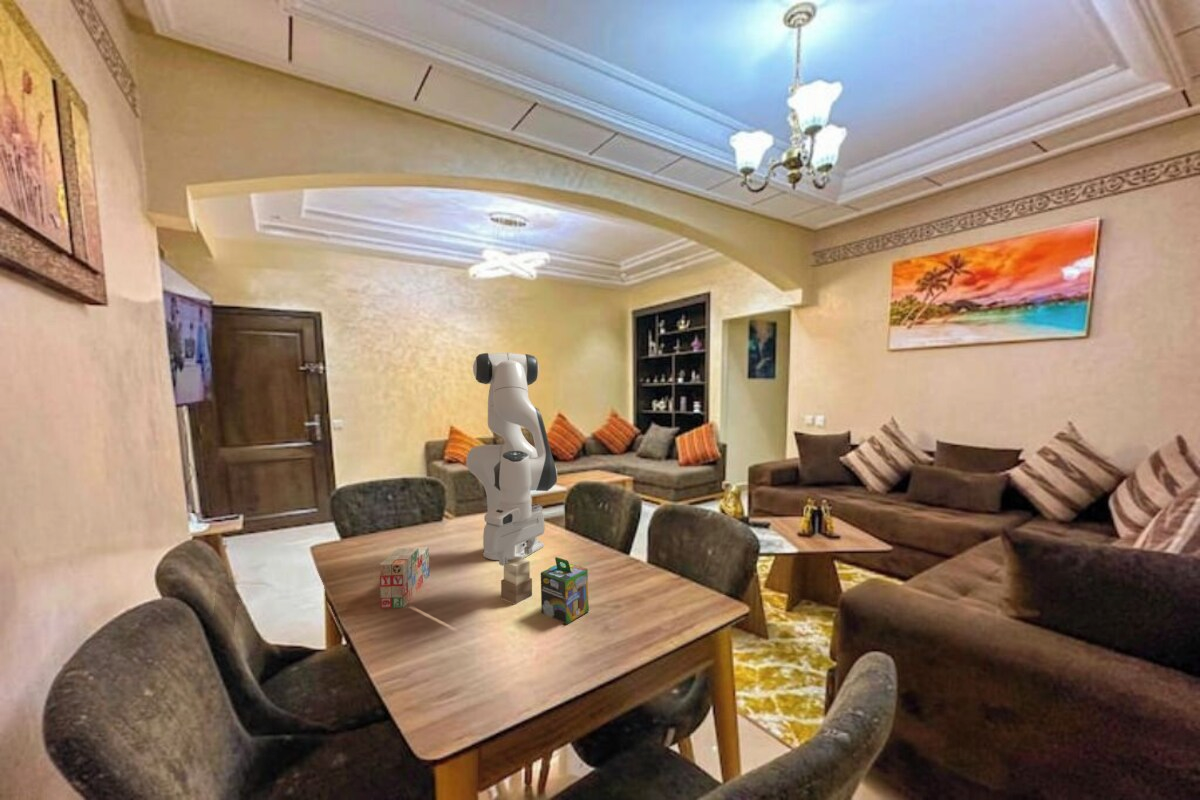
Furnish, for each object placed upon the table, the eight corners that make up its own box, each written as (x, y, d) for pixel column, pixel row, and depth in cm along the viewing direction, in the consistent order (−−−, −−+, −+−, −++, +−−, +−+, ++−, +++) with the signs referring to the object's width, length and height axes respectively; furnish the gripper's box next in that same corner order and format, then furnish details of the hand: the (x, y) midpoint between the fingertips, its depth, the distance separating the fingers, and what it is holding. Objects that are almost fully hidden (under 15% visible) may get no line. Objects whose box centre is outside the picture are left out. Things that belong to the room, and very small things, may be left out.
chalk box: (589, 612, 120) (589, 556, 120) (565, 626, 113) (565, 567, 112) (563, 601, 126) (563, 548, 125) (539, 614, 119) (539, 558, 118)
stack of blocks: (409, 576, 143) (409, 537, 143) (429, 575, 144) (429, 537, 143) (380, 609, 122) (379, 563, 122) (403, 608, 122) (403, 563, 122)
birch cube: (517, 574, 131) (517, 556, 130) (529, 578, 128) (529, 560, 127) (503, 580, 127) (503, 562, 126) (516, 584, 124) (516, 566, 123)
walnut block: (517, 590, 131) (517, 573, 131) (532, 595, 128) (531, 578, 128) (501, 598, 127) (501, 580, 126) (516, 604, 123) (516, 585, 123)
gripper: (534, 500, 137) (534, 545, 138) (479, 517, 121) (480, 568, 121) (549, 503, 133) (549, 549, 134) (495, 521, 117) (495, 574, 117)
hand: (516, 558), depth 127 cm, fingers open, 8 cm apart
